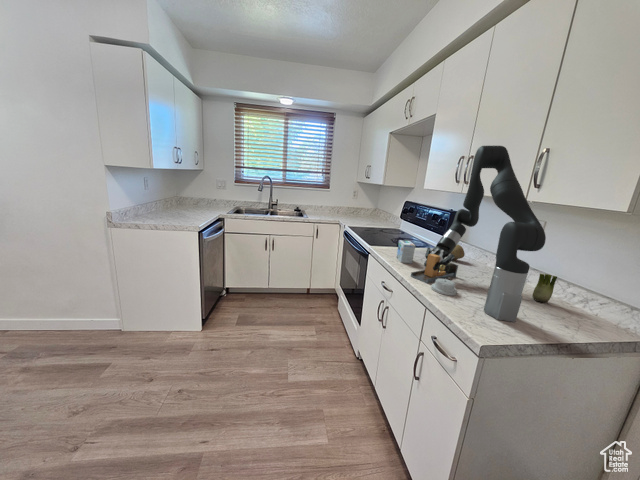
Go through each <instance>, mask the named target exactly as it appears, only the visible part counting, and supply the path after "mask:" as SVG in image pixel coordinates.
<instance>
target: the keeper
mask: <svg viewBox="0 0 640 480" xmlns="http://www.w3.org/2000/svg"><path fill="white" fill-rule="evenodd" d="M458 269H459V264H456V263H452V262H450V263H448V264H447V265H445V266H444V265H441V266H440V267H439V272H442V271H445V272H447V273H449V274H450V273H455V274H454V278H455V277H457V273H458Z"/></svg>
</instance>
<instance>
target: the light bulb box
mask: <svg viewBox="0 0 640 480" xmlns="http://www.w3.org/2000/svg"><path fill="white" fill-rule="evenodd" d="M415 250H416V244H414V243H413V242H412V241H411V240H402V239H398V245H397V251H396V257H395V258H396V259H397V260H398V262H400V263H401V264H411V265H412V264H413V261H414V255H415Z"/></svg>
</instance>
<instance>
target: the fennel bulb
mask: <svg viewBox="0 0 640 480" xmlns="http://www.w3.org/2000/svg"><path fill="white" fill-rule="evenodd" d="M557 279H558V275H557V276H556V275H553V276H552V275H551V274H548V273H539V276H538V282H537V284H536V285H535V287H534V289H533V291H532V299H533V300H534V301H537V302H540V303H545V304H546V303H548V302H549V301H550V299H551V298H552V295H553V293H554V290H555V289H554V287H555V284H556V281H557Z"/></svg>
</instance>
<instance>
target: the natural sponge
mask: <svg viewBox="0 0 640 480" xmlns="http://www.w3.org/2000/svg"><path fill="white" fill-rule="evenodd" d="M451 254H453V255H454V258H455V259H453V260H452V261H457V260H460V259H462V258H464V257H465V250H464V247H462V246H461V245H460V244H457V245H456V247H455V248H454V250H453V251H452V252H451Z"/></svg>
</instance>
